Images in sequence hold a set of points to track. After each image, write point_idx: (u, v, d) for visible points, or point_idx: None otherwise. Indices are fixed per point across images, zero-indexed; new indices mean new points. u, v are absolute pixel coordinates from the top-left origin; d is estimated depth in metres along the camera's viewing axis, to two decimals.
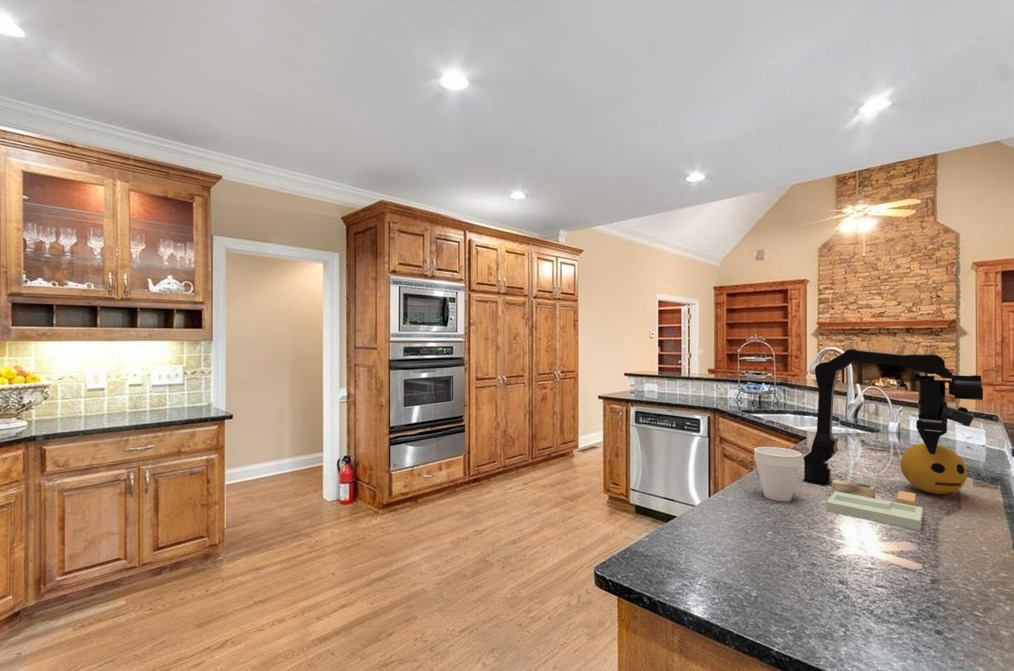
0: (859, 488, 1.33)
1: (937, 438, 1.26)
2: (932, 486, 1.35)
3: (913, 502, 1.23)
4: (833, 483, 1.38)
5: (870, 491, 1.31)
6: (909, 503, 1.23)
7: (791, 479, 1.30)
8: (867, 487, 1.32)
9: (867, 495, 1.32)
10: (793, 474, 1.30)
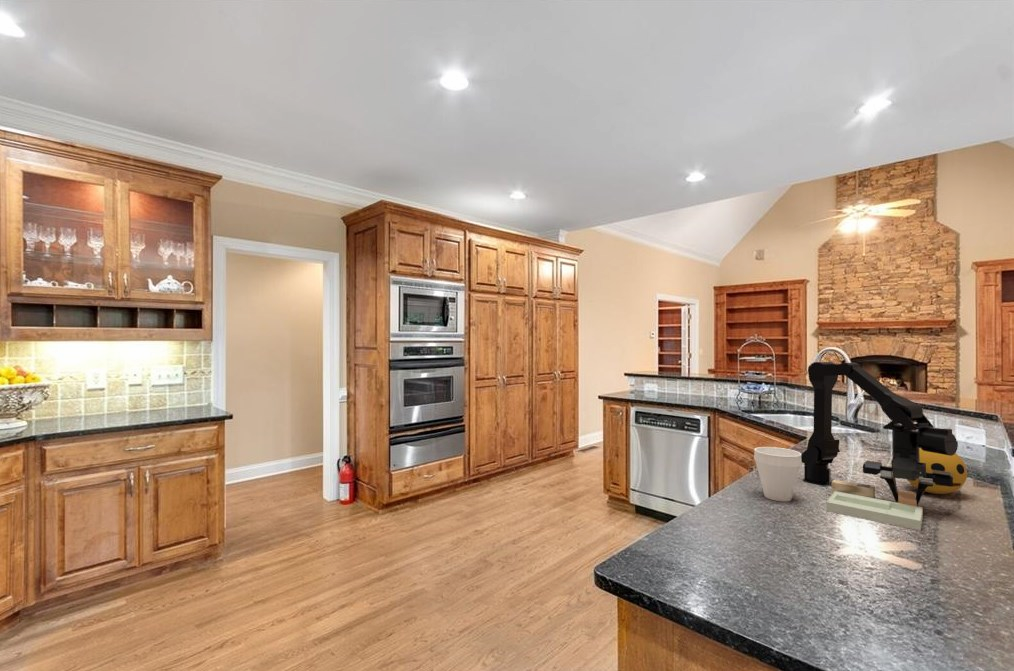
0: (859, 488, 1.33)
1: None
2: None
3: (915, 501, 1.22)
4: (833, 483, 1.38)
5: (870, 491, 1.31)
6: (911, 502, 1.23)
7: (791, 479, 1.30)
8: (867, 487, 1.32)
9: (867, 495, 1.32)
10: (793, 474, 1.30)
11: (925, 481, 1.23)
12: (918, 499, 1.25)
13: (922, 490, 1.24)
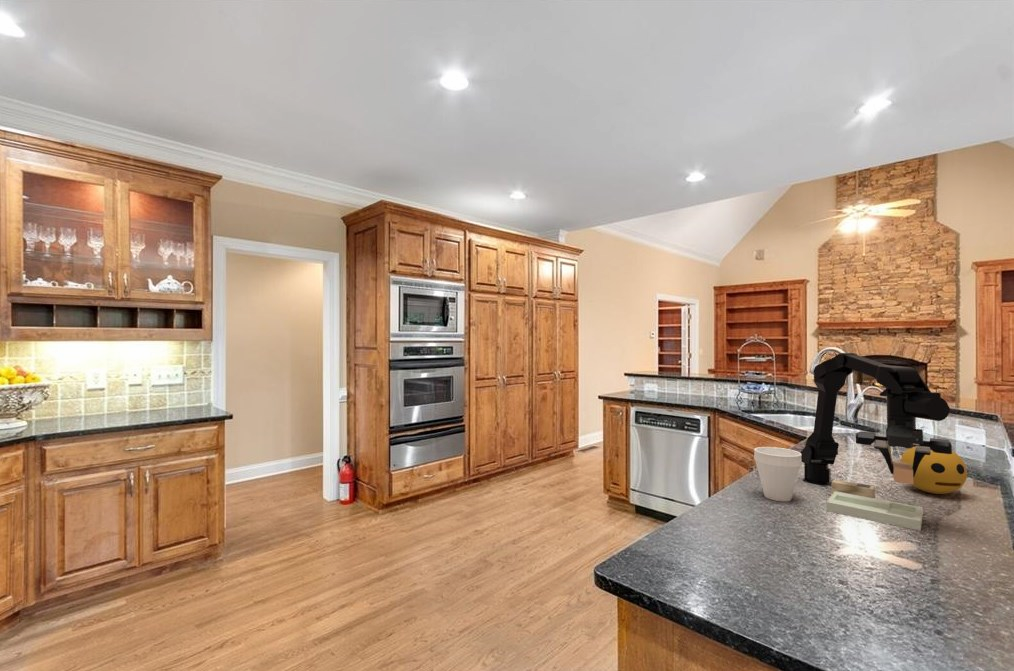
0: (859, 488, 1.33)
1: None
2: (932, 486, 1.35)
3: (912, 471, 1.14)
4: (833, 483, 1.38)
5: (870, 491, 1.31)
6: (907, 472, 1.15)
7: (791, 479, 1.30)
8: (867, 487, 1.32)
9: (867, 495, 1.32)
10: (793, 474, 1.30)
11: (922, 450, 1.15)
12: (915, 469, 1.16)
13: (919, 459, 1.16)
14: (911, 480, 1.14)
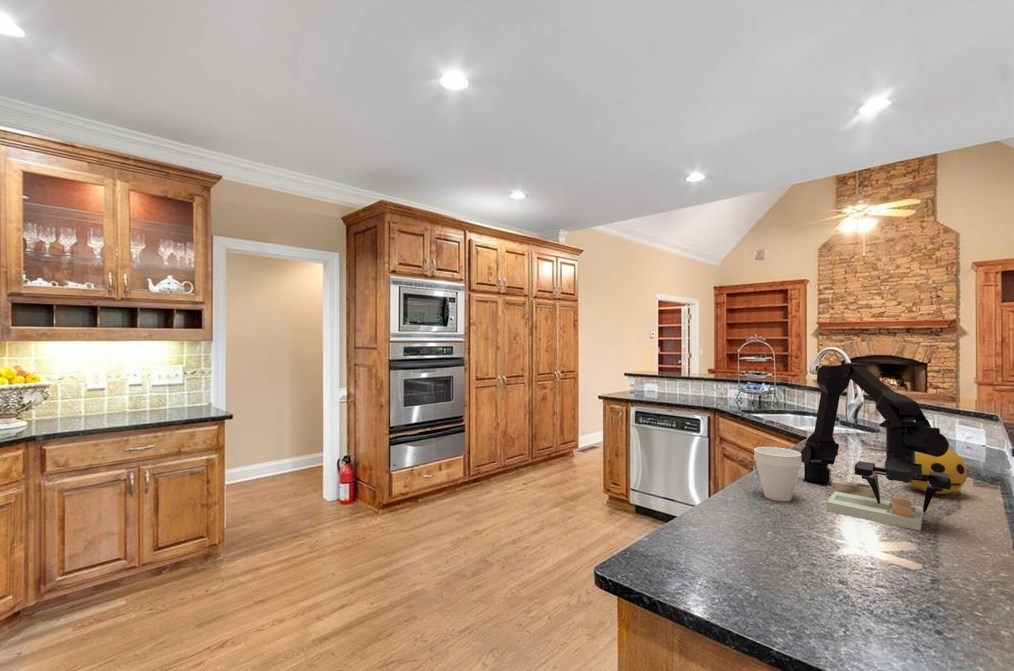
0: (859, 488, 1.33)
1: None
2: None
3: (910, 509, 1.14)
4: (833, 483, 1.38)
5: (870, 491, 1.31)
6: (905, 510, 1.14)
7: (791, 479, 1.30)
8: (867, 487, 1.32)
9: (867, 495, 1.32)
10: (793, 474, 1.30)
11: None
12: (926, 505, 1.14)
13: (931, 495, 1.13)
14: None
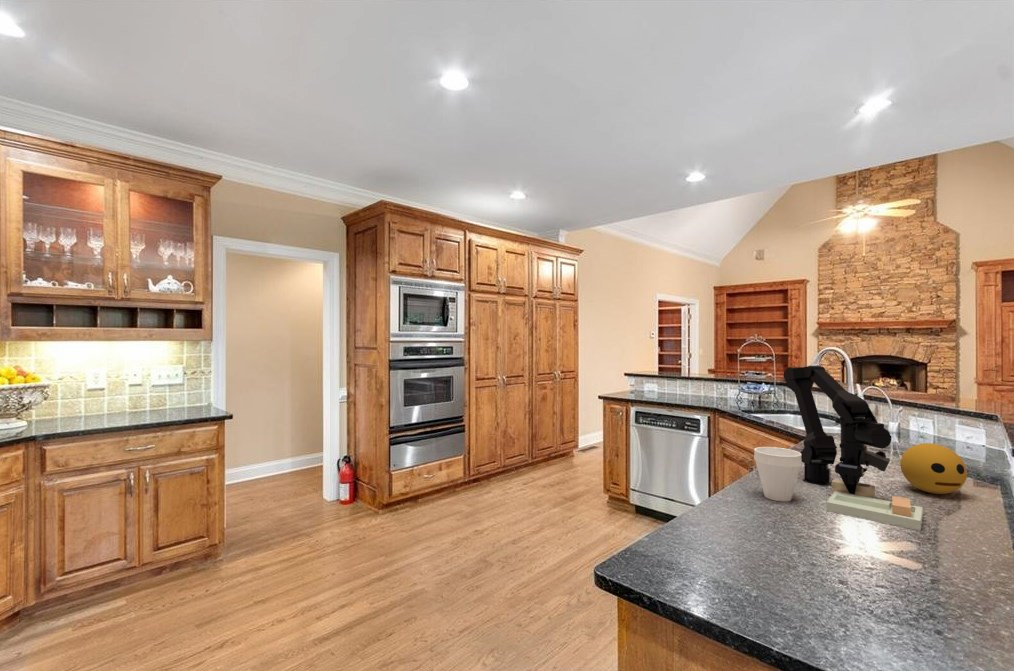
0: (859, 487, 1.33)
1: (855, 480, 1.32)
2: (932, 486, 1.35)
3: (910, 509, 1.14)
4: (833, 482, 1.38)
5: (870, 490, 1.31)
6: (905, 510, 1.14)
7: (791, 479, 1.30)
8: (867, 486, 1.32)
9: (867, 494, 1.32)
10: (793, 474, 1.30)
11: None
12: None
13: None
14: None
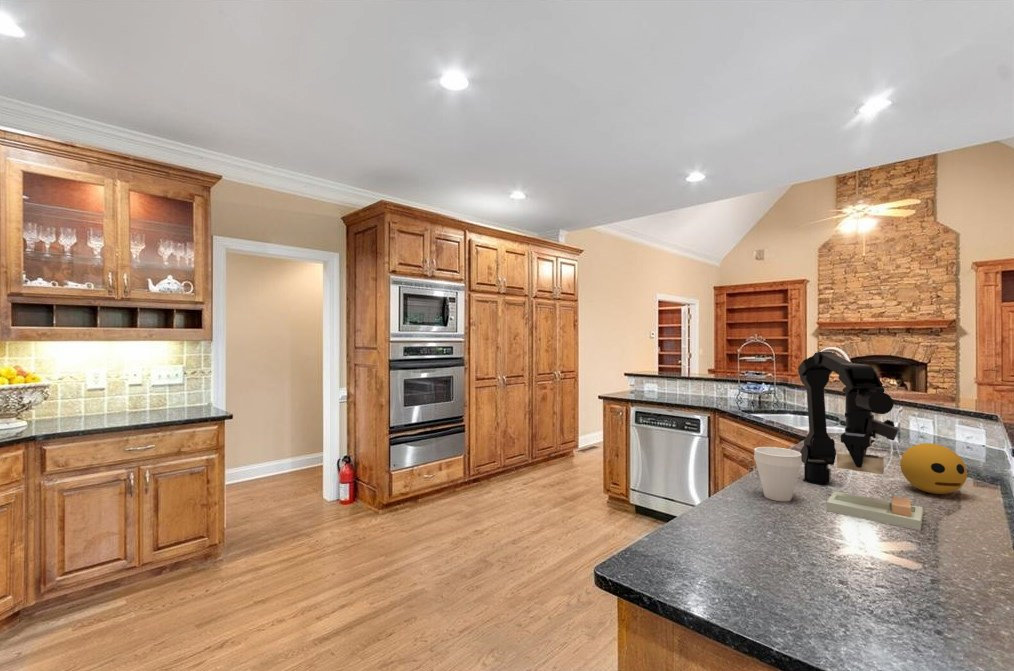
0: (867, 459, 1.24)
1: (863, 451, 1.23)
2: (932, 486, 1.35)
3: (910, 509, 1.14)
4: (838, 455, 1.29)
5: (878, 461, 1.22)
6: (905, 510, 1.14)
7: (791, 479, 1.30)
8: (875, 457, 1.23)
9: (875, 466, 1.23)
10: (793, 474, 1.30)
11: None
12: None
13: None
14: None
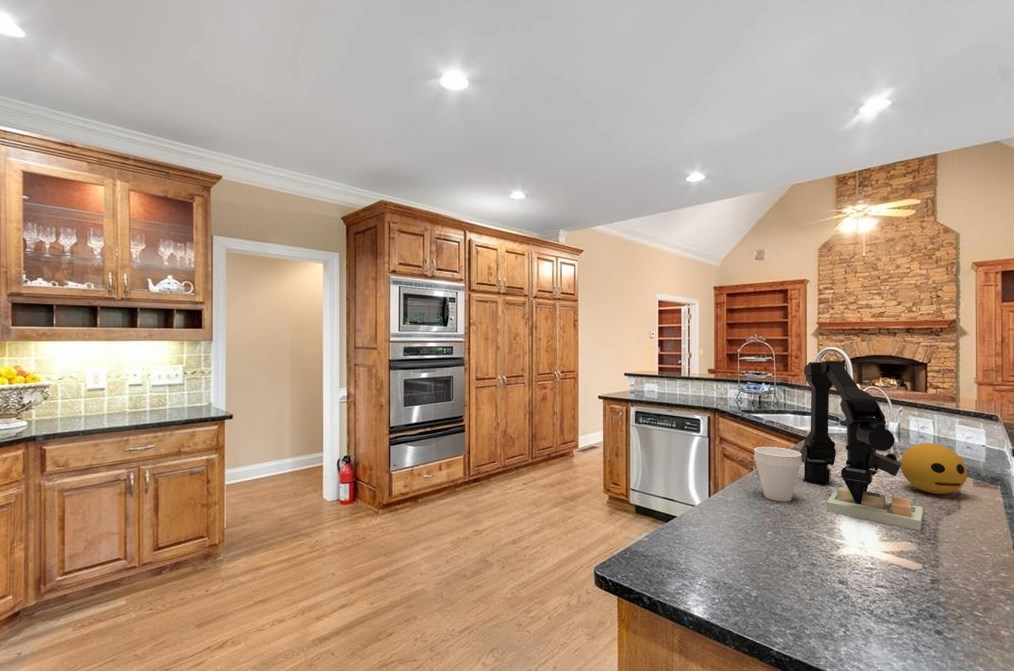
0: (868, 497, 1.22)
1: (862, 488, 1.19)
2: (932, 486, 1.35)
3: (910, 509, 1.14)
4: (839, 491, 1.26)
5: (880, 500, 1.20)
6: (905, 510, 1.14)
7: (791, 479, 1.30)
8: (876, 496, 1.21)
9: (877, 504, 1.20)
10: (793, 474, 1.30)
11: (870, 469, 1.28)
12: None
13: None
14: None
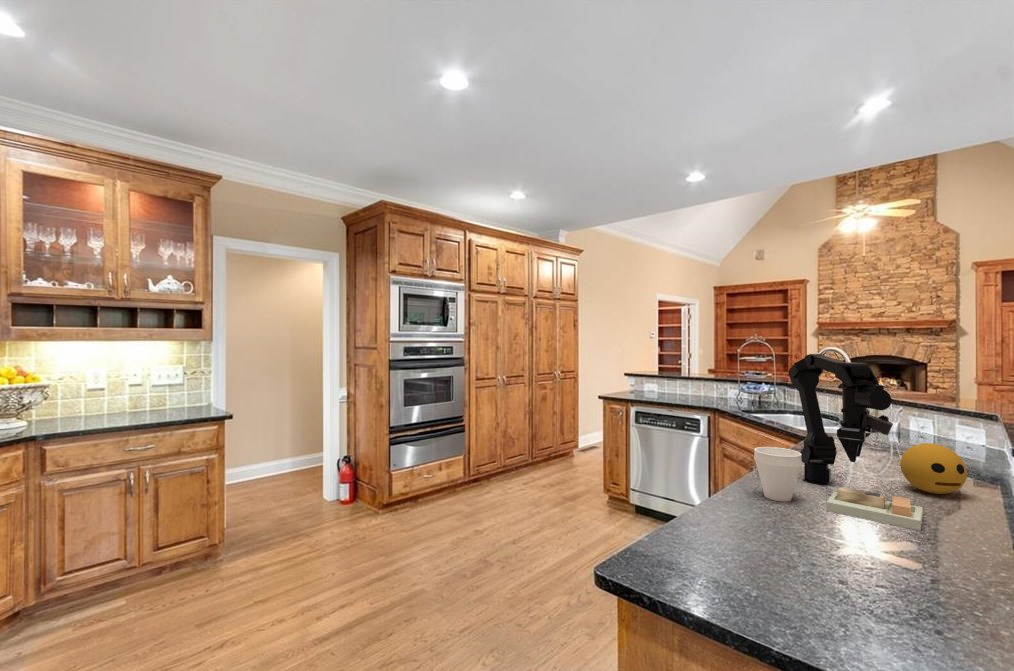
0: (868, 497, 1.22)
1: (856, 446, 1.27)
2: (932, 486, 1.35)
3: (910, 509, 1.14)
4: (839, 491, 1.26)
5: (880, 500, 1.20)
6: (905, 510, 1.14)
7: (791, 479, 1.30)
8: (876, 496, 1.21)
9: (877, 504, 1.20)
10: (793, 474, 1.30)
11: None
12: None
13: None
14: None
